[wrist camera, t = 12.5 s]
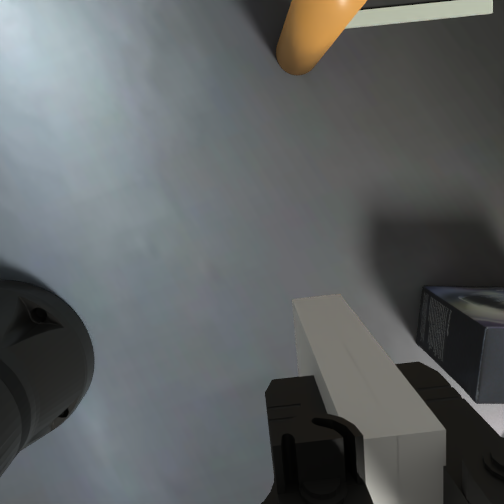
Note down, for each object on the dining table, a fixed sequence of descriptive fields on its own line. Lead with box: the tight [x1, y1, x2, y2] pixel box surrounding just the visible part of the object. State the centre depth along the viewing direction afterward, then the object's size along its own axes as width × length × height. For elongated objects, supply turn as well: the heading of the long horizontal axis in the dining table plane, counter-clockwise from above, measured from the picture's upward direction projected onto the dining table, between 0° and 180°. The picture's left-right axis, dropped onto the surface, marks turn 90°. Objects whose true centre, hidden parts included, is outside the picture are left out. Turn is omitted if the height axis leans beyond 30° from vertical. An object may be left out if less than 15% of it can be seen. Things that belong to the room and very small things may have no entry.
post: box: [276, 0, 367, 75], centre depth 27 cm, size 4×4×14 cm
